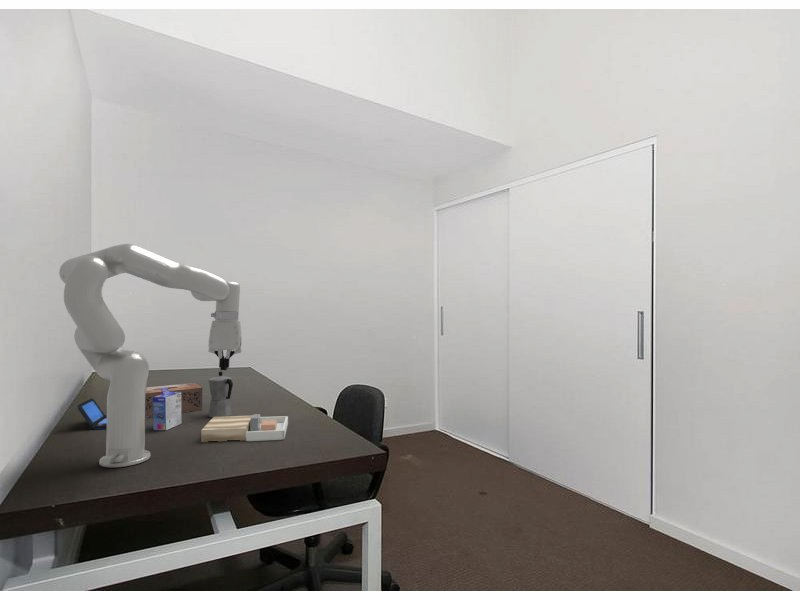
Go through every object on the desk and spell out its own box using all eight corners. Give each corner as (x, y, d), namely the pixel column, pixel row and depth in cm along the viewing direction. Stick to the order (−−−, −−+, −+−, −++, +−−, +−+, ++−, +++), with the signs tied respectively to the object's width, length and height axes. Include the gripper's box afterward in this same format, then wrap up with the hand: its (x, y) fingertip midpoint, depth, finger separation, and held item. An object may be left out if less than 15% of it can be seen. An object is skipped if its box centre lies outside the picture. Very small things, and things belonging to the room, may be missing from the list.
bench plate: (245, 440, 150) (245, 428, 150) (201, 442, 147) (201, 430, 147) (253, 426, 168) (253, 415, 168) (213, 427, 165) (213, 416, 165)
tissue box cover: (193, 404, 205) (193, 383, 205) (202, 410, 193) (202, 387, 193) (128, 412, 188) (128, 389, 189) (133, 419, 177) (133, 394, 177)
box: (284, 439, 151) (284, 430, 151) (246, 441, 149) (246, 432, 149) (287, 423, 171) (287, 416, 171) (254, 425, 169) (254, 417, 169)
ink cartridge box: (168, 423, 171) (169, 385, 171) (182, 423, 170) (182, 385, 171) (151, 430, 161) (152, 390, 161) (166, 430, 161) (166, 390, 161)
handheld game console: (118, 429, 163) (118, 403, 164) (75, 431, 159) (76, 405, 160) (130, 418, 178) (130, 395, 179) (91, 421, 174) (91, 397, 175)
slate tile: (250, 432, 156) (257, 432, 156) (250, 418, 156) (258, 418, 156) (252, 428, 162) (260, 427, 162) (253, 414, 162) (260, 414, 162)
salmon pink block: (260, 425, 157) (260, 432, 157) (275, 424, 158) (275, 431, 158) (262, 420, 163) (262, 427, 163) (276, 420, 163) (276, 427, 163)
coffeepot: (200, 414, 185) (201, 371, 185) (222, 410, 192) (222, 368, 192) (220, 421, 175) (220, 374, 175) (242, 416, 182) (242, 372, 183)
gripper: (201, 316, 151) (198, 370, 150) (247, 317, 153) (244, 371, 152) (207, 316, 158) (203, 368, 157) (251, 317, 161) (248, 369, 160)
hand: (223, 369), depth 155 cm, fingers closed
